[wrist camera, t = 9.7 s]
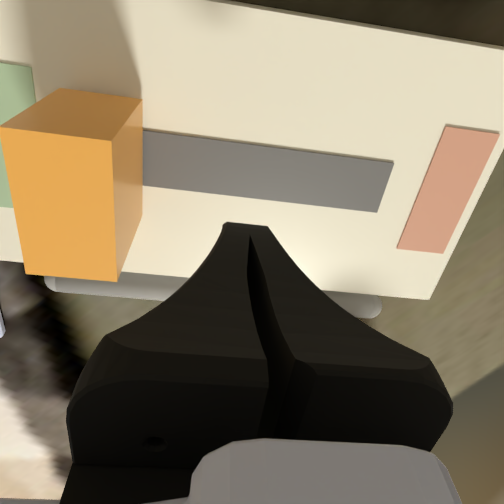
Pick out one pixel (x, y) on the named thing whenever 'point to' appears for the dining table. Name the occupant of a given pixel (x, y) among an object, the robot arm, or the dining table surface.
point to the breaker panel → (275, 130)
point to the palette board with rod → (167, 285)
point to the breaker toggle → (76, 182)
